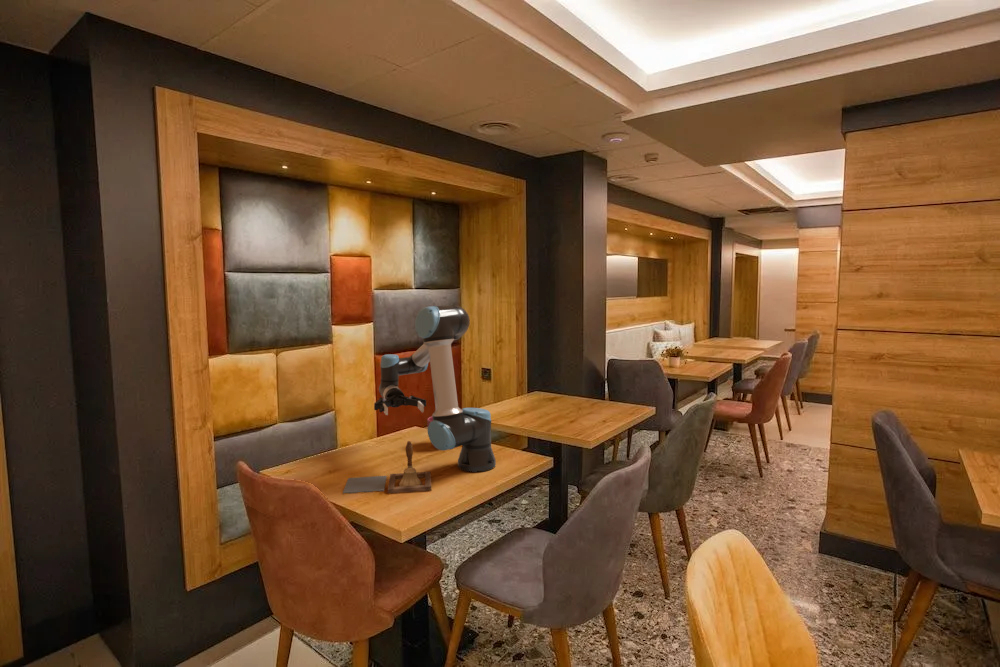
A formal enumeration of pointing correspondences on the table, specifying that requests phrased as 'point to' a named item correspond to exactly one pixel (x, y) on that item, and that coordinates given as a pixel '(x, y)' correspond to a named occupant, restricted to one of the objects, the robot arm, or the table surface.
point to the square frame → (409, 488)
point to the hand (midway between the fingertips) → (405, 410)
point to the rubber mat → (365, 484)
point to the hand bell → (409, 470)
